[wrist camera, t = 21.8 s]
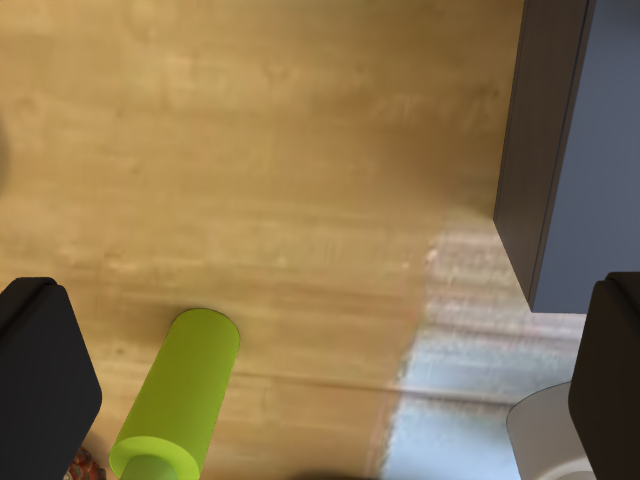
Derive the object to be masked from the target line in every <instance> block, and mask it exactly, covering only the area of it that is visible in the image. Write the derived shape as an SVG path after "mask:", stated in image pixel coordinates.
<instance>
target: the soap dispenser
mask: <svg viewBox="0 0 640 480" xmlns="http://www.w3.org/2000/svg"><path fill="white" fill-rule="evenodd" d="M239 345H240V336H239V333H238V330H237V328H236V327H235V325H234V324H233V323H232V322H231V321H230V320H229V319H228V318H227V317H225V316H224V315H222V314H220V313H218V312H215V311H212V310H208V309H193V310H189V311H186V312H184V313H182V314H181V315H179V316H178V317H177V318H176V319H175V321H174V322H173V324H172V326H171V328H170V330H169V333H168V335H167V337H166V339H165V341H164V343H163V345H162V347H161V349H160V351H159V353H158V355H157V357H156V359H155V361H154V363H153V365H152V367H151V369H150V371H149V373H148V376H147V378H146V380H145V382H144V384H143V386H142V388H141V390H140V392H139V394H138V396H137V398H136V400H135V402H134V404H133V406H132V408H131V410H130V412H129V414H128V416H127V419H126V421H125V423H124V425H123V427H122V429H121V431H120V433H119V435H118V437H117V439H116V441H115V443H114V445H113V447H112V449H111V451H110V454H109V464H110V467H111V469H112V471H113V473H114V474H115V475H116V477H117V478H118V479H119V480H198V479H199V476H200V473H201V469H202V466H203V463H204V460H205V456H206V453H207V450H208V447H209V443H210V440H211V437H212V433H213V430H214V427H215V424H216V420H217V417H218V414H219V411H220V407H221V404H222V401H223V398H224V394H225V391H226V388H227V384H228V381H229V378H230V375H231V371H232V368H233V365H234V362H235V358H236V355H237V352H238V349H239Z"/></svg>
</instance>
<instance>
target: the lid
mask: <svg viewBox="0 0 640 480" xmlns="http://www.w3.org/2000/svg"><path fill="white" fill-rule="evenodd" d="M634 271H640V0H589V4H588V9H587V14H586V19H585V24H584V29H583V34H582V39H581V43H580V48H579V53H578V58H577V63H576V68H575V73H574V78H573V83H572V88H571V93H570V98H569V103H568V108H567V113H566V118H565V123H564V128H563V133H562V138H561V143H560V148H559V153H558V158H557V163H556V168H555V173H554V178H553V183H552V188H551V193H550V198H549V203H548V208H547V213H546V218H545V223H544V228H543V232H542V237H541V242H540V247H539V252H538V257H537V262H536V267H535V272H534V277H533V282H532V287H531V292H530V297H529V302H528V305H529V307H530V310H531V312H533V313H576V314H587V313H588V308H589V304H590V300H591V296H592V291H593V288H594V285H595V283H596V282H597V281H599V280H605V277H606V276H607V274H608V273H610V272H634Z"/></svg>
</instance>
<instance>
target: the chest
mask: <svg viewBox="0 0 640 480" xmlns="http://www.w3.org/2000/svg"><path fill="white" fill-rule="evenodd" d="M588 4H589V0H525V3H524V10H523V17H522V24H521V31H520V38H519V45H518V52H517V58H516V65H515V72H514V79H513V86H512V93H511V100H510V107H509V114H508V121H507V128H506V135H505V142H504V149H503V156H502V163H501V170H500V177H499V184H498V190H497V197H496V204H495V211H494V218H493V221H494V224H495V226H496V229H497V231H498V233H499V236H500V238H501V241H502V243H503V245H504V248H505V250H506V253H507V255H508V257H509V260H510V262H511V265H512V267H513V269H514V272H515V274H516V277H517V279H518V281H519V284H520V286H521V289H522V291H523V293H524V296H525V298H526V300H527V303H528V302H529V297H530V292H531V287H532V282H533V277H534V272H535V267H536V262H537V257H538V252H539V247H540V242H541V237H542V232H543V228H544V223H545V218H546V213H547V208H548V203H549V198H550V193H551V188H552V183H553V178H554V173H555V168H556V163H557V158H558V153H559V148H560V143H561V138H562V133H563V128H564V123H565V118H566V113H567V108H568V103H569V98H570V93H571V88H572V83H573V78H574V73H575V68H576V63H577V58H578V53H579V48H580V43H581V39H582V34H583V29H584V24H585V19H586V14H587V9H588Z"/></svg>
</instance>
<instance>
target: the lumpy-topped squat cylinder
mask: <svg viewBox="0 0 640 480" xmlns="http://www.w3.org/2000/svg"><path fill="white" fill-rule="evenodd" d="M570 385H571V382H569V383H565V384H561V385H557V386H554V387H551V388H547V389H544V390H542V391H539V392H537V393H534V394H532V395H531V396H529V397H527V398H526V399H524V400H522V401H521V402H520V403H518V404H517V405H516V406H515V407H514V408H513V409H512V410H511V411H510V413H509V414H508V417H507V420H506V426H507V430H508V434H509V438H510V441H511V445H512V448H513V452H514V456H515V459H516V463H517V467H518V470H519V474H520V477H521V480H596V477H595V475H594V472H593V470H592V468H591V465H590V463H589V460H588V458H587V455H586V453H585V451H584V448H583V446H582V443H581V441H580V438H579V436H578V434H577V431H576V429H575V426H574V424H573V421H572V419H571V416H570V413H569V408H568V394H569V390H570Z"/></svg>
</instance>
